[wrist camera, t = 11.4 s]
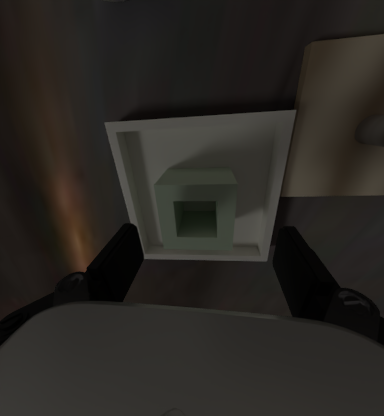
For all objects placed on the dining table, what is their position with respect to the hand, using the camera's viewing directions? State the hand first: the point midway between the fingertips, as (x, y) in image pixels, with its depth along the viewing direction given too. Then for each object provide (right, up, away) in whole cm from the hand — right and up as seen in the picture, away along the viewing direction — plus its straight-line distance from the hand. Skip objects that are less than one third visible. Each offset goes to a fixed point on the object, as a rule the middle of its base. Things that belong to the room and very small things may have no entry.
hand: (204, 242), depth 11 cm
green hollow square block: (0, +4, +8) cm, 8 cm away
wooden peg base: (+14, +9, +4) cm, 17 cm away
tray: (0, +4, +8) cm, 9 cm away
